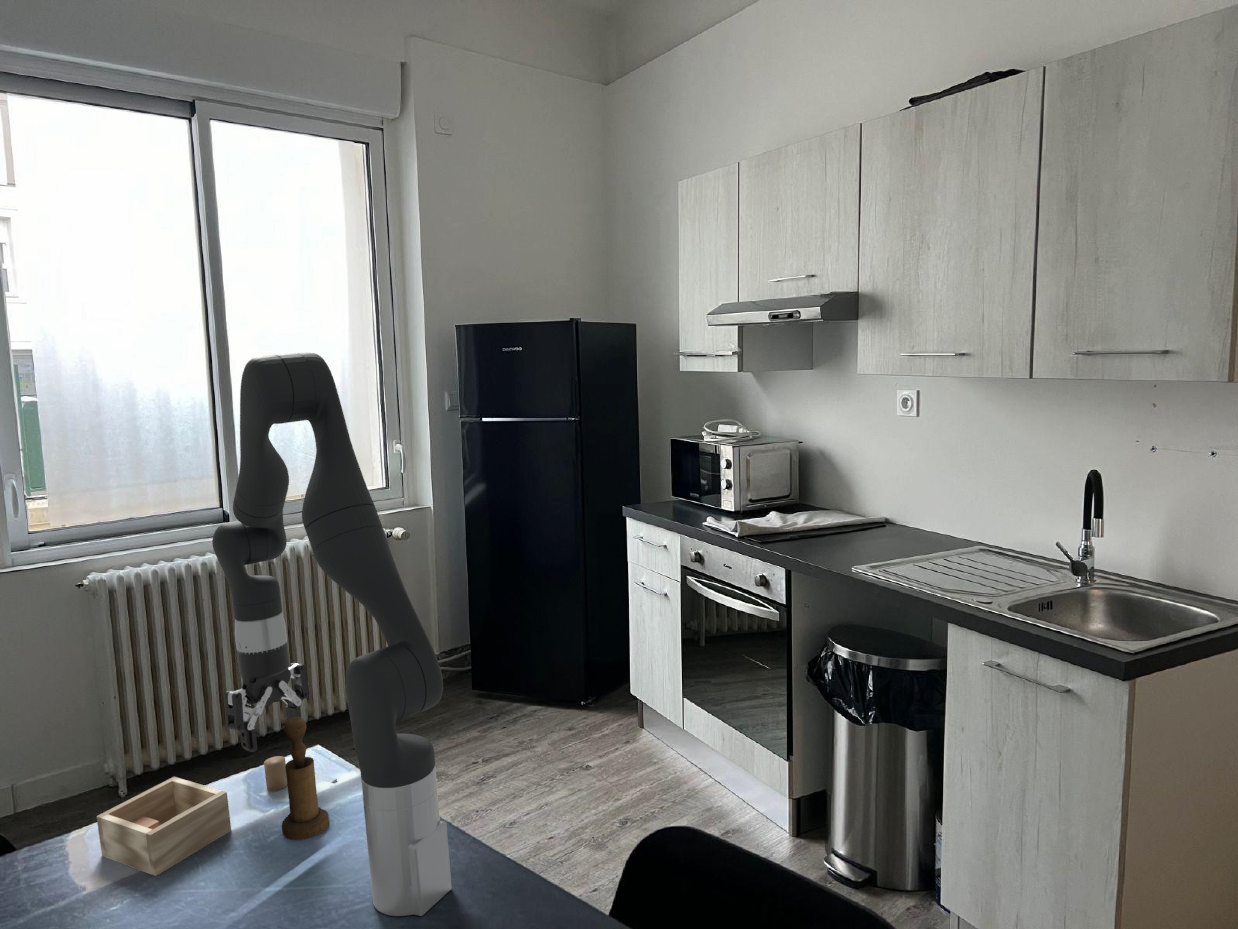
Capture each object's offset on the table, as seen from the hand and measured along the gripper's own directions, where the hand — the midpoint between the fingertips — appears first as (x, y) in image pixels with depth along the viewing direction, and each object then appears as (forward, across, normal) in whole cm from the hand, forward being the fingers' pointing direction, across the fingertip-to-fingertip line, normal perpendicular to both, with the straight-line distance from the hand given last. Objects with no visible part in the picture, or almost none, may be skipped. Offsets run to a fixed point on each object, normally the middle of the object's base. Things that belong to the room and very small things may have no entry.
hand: (273, 739), depth 138 cm
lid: (+10, 0, 0) cm, 10 cm away
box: (+9, -18, +2) cm, 20 cm away
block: (+8, -20, +5) cm, 22 cm away
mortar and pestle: (+10, -7, -14) cm, 18 cm away
